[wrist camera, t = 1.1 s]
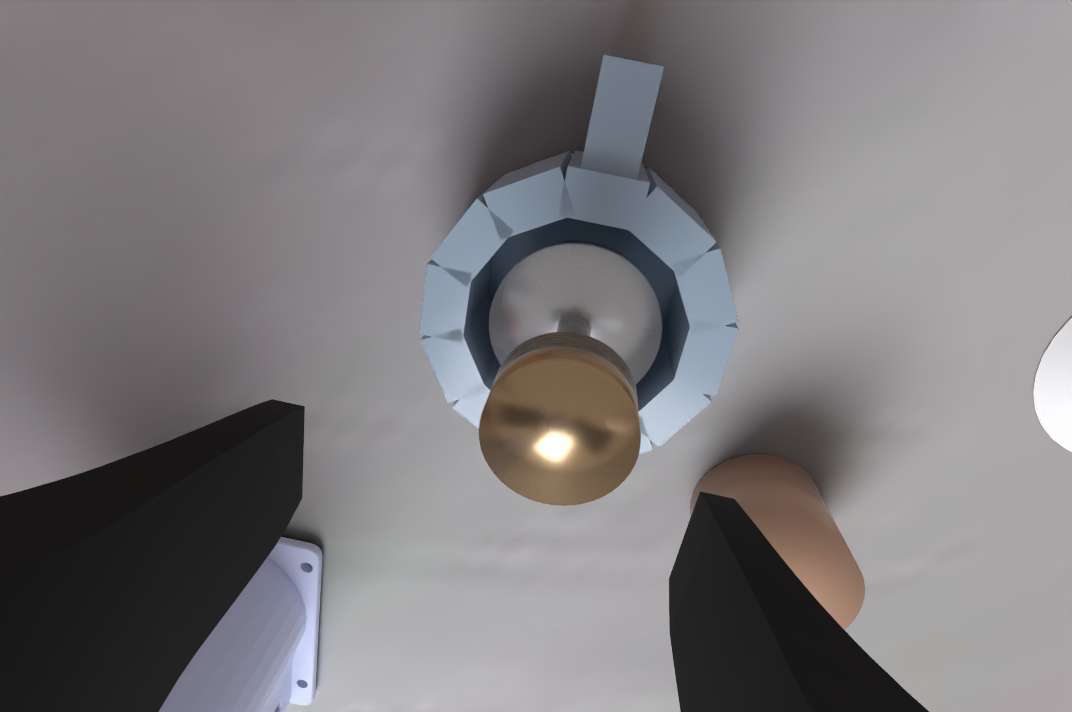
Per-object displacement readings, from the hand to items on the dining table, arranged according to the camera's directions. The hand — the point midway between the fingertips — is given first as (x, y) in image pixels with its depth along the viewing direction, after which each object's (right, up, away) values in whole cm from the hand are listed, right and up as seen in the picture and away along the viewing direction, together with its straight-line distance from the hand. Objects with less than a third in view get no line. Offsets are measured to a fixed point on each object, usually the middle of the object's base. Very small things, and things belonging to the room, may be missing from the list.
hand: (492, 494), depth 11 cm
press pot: (+2, +5, +9) cm, 11 cm away
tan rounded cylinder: (+9, -3, +12) cm, 15 cm away
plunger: (+2, +3, +6) cm, 7 cm away
